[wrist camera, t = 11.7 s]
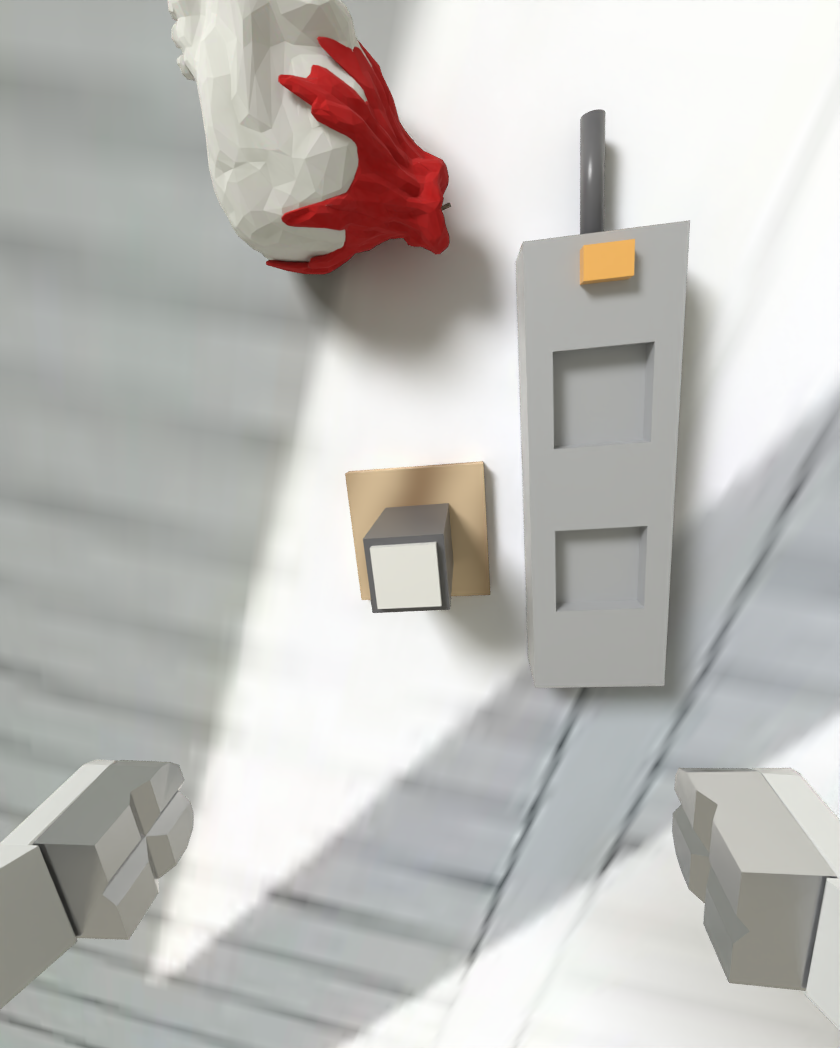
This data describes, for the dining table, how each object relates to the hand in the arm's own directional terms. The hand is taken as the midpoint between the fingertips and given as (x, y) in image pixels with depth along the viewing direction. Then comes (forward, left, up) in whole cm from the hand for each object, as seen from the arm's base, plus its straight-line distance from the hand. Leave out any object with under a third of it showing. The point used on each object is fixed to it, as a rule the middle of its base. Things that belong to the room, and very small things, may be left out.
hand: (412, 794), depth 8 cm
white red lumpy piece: (+5, -18, -25) cm, 31 cm away
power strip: (-8, -3, -25) cm, 26 cm away
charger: (+2, +3, -24) cm, 24 cm away
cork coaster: (+3, +3, -25) cm, 25 cm away
